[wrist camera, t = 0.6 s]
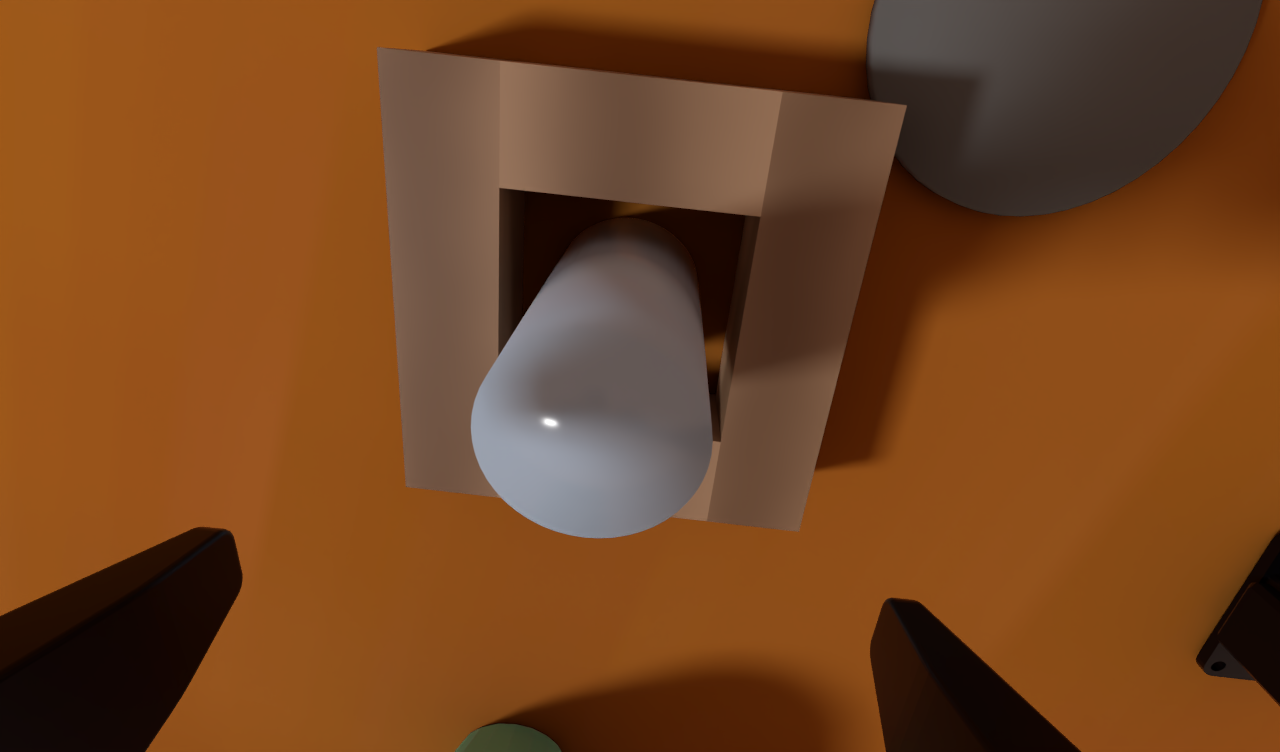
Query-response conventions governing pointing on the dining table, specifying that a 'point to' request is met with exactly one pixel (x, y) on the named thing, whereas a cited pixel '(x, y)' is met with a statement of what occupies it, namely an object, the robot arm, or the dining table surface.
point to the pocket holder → (639, 173)
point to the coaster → (1048, 91)
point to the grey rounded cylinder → (602, 389)
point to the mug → (507, 740)
